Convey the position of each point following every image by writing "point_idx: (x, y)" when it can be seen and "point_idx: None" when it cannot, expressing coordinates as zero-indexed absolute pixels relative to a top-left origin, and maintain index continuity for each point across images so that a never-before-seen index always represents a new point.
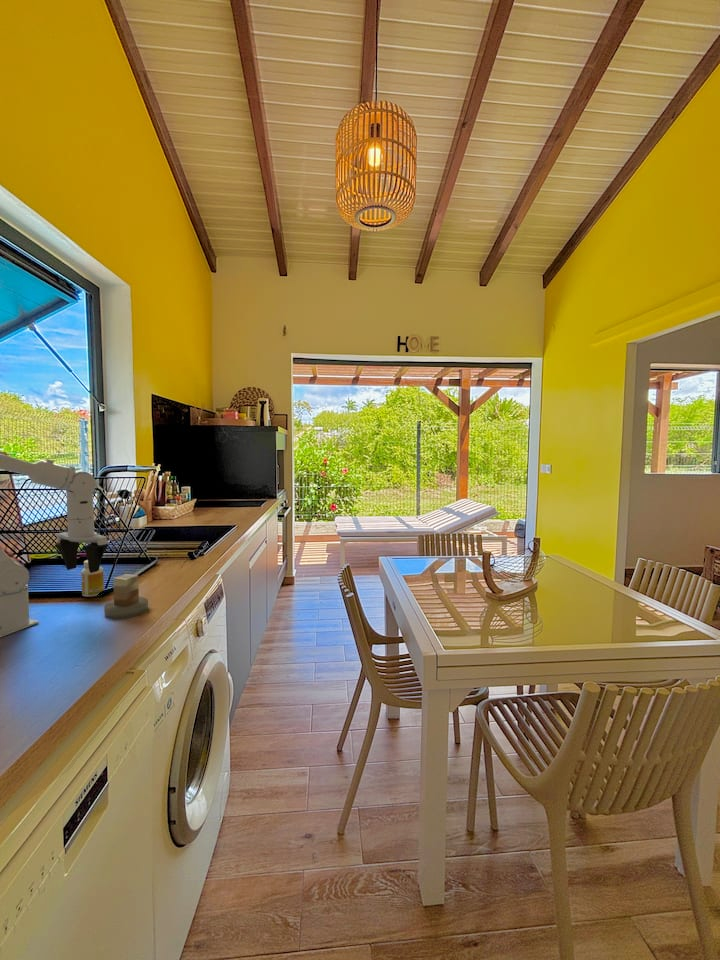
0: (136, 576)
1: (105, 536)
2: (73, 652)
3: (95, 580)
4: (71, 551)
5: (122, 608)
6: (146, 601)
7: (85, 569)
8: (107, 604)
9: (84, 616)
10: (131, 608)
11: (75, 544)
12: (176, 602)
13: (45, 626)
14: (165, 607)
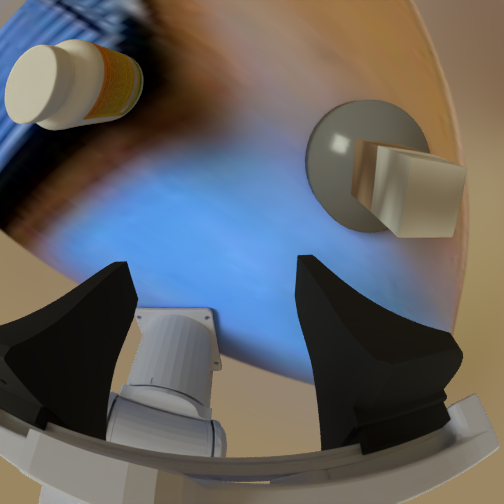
0: (463, 177)
1: (491, 453)
2: None
3: (115, 93)
4: (87, 358)
5: None
6: (420, 136)
7: (49, 118)
8: (325, 197)
9: (278, 238)
10: None
11: (50, 372)
12: (441, 70)
13: (243, 311)
14: (441, 112)
